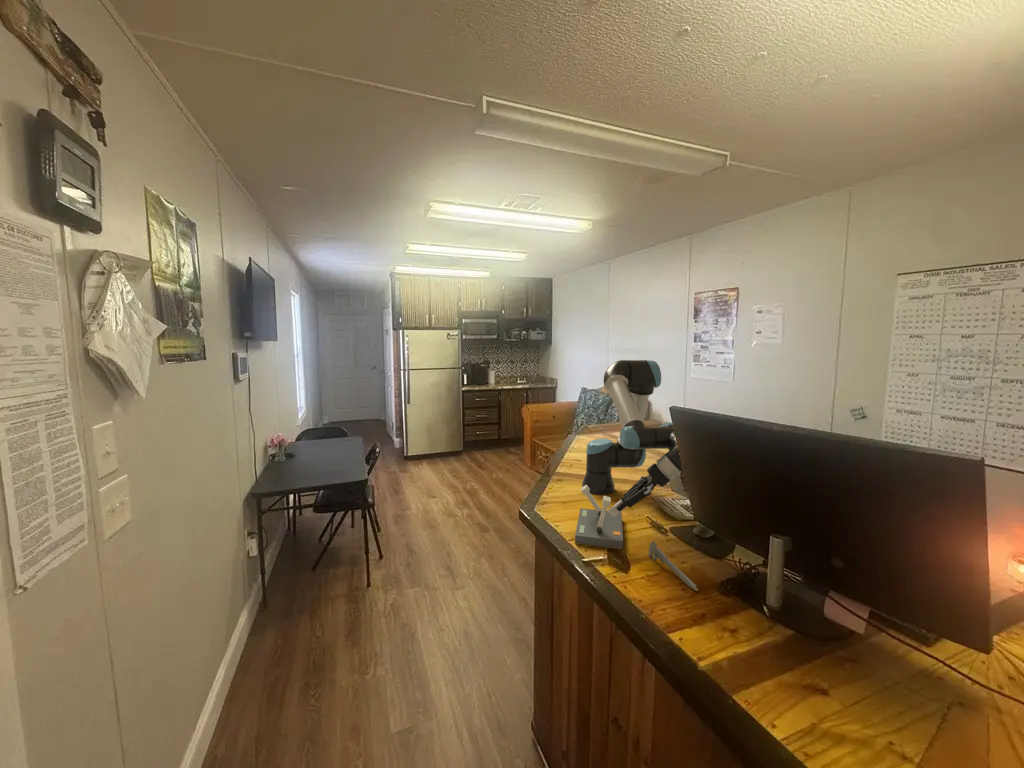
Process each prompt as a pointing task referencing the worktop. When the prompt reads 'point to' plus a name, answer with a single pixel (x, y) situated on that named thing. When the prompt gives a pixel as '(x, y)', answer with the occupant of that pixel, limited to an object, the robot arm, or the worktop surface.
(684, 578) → the caliper
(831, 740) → the worktop surface
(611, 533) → the panel
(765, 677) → the worktop surface
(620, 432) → the robot arm
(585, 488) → the lever
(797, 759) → the worktop surface
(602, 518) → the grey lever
